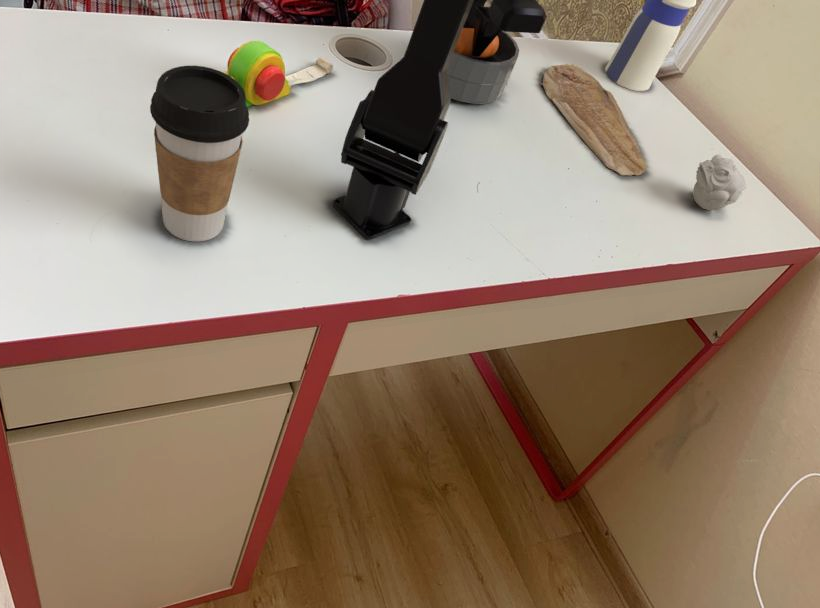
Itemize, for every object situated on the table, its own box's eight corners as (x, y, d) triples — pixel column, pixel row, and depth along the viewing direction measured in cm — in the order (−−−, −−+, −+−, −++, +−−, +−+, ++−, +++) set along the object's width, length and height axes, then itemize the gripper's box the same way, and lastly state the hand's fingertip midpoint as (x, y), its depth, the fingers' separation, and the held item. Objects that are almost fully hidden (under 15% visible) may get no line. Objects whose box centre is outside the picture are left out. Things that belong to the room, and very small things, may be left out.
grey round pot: (457, 115, 95) (474, 71, 90) (395, 64, 100) (408, 19, 95) (518, 97, 102) (537, 54, 97) (457, 50, 107) (472, 7, 102)
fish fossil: (669, 175, 97) (674, 168, 96) (608, 181, 94) (612, 174, 93) (580, 67, 111) (583, 60, 110) (524, 69, 108) (527, 63, 107)
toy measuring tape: (197, 96, 84) (200, 44, 79) (310, 58, 96) (319, 10, 91) (233, 124, 82) (239, 73, 77) (344, 81, 94) (355, 34, 89)
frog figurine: (671, 185, 96) (702, 142, 90) (718, 196, 96) (751, 154, 91) (682, 214, 92) (715, 170, 86) (731, 225, 93) (766, 182, 87)
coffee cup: (154, 252, 67) (156, 114, 55) (145, 194, 71) (144, 55, 60) (243, 249, 70) (261, 117, 58) (228, 193, 74) (242, 61, 63)
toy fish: (437, 61, 95) (446, 37, 92) (427, 45, 97) (436, 20, 94) (496, 63, 98) (507, 40, 95) (486, 47, 100) (496, 24, 97)
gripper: (607, -32, 83) (550, 87, 95) (533, -100, 93) (490, 16, 105) (528, -40, 79) (479, 86, 91) (460, -110, 89) (424, 12, 101)
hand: (469, 48), depth 97 cm, fingers closed on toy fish, 4 cm apart
